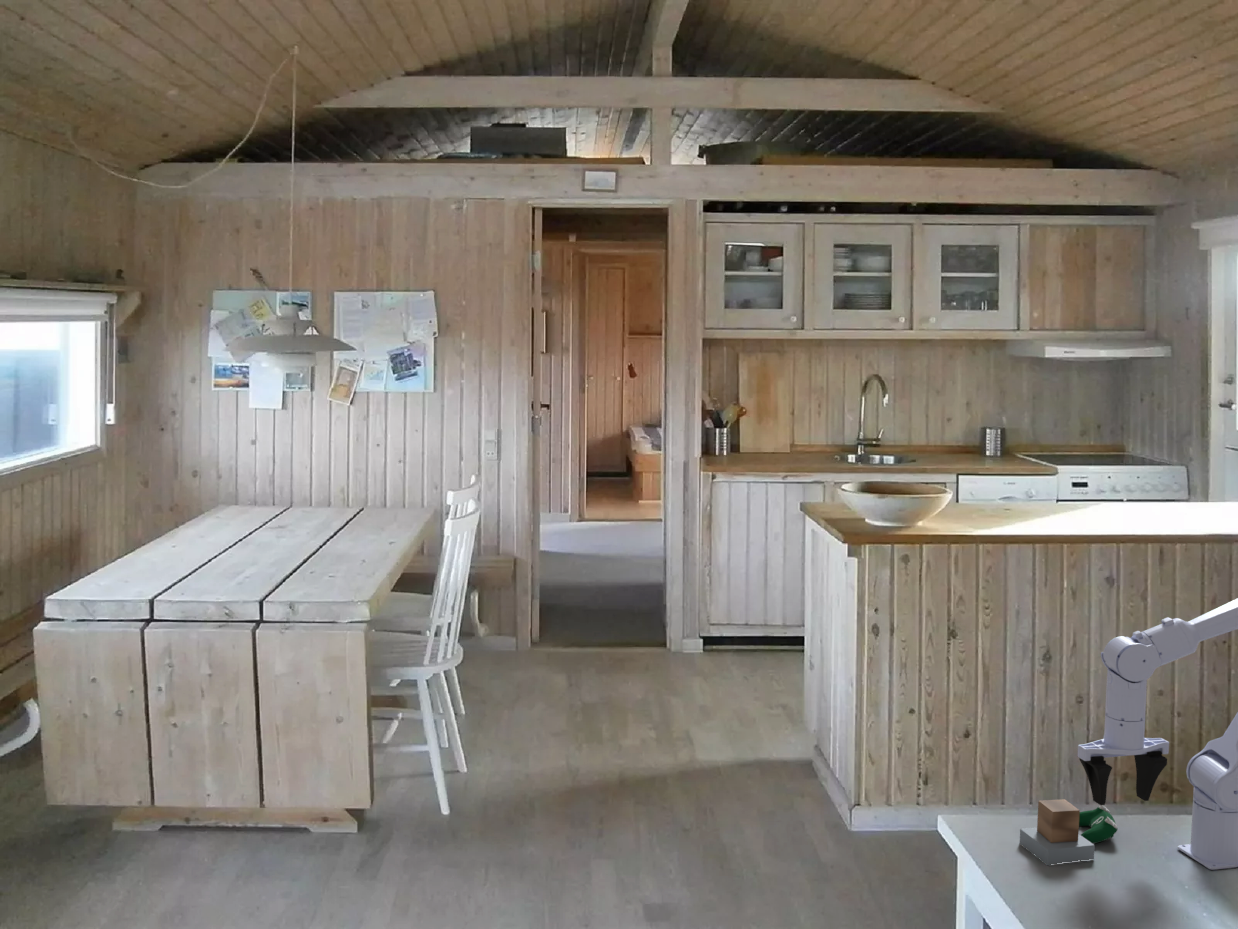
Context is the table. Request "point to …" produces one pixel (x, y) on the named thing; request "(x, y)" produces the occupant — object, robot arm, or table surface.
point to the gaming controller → (1098, 824)
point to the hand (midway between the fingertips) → (1120, 800)
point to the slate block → (1056, 847)
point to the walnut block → (1058, 820)
